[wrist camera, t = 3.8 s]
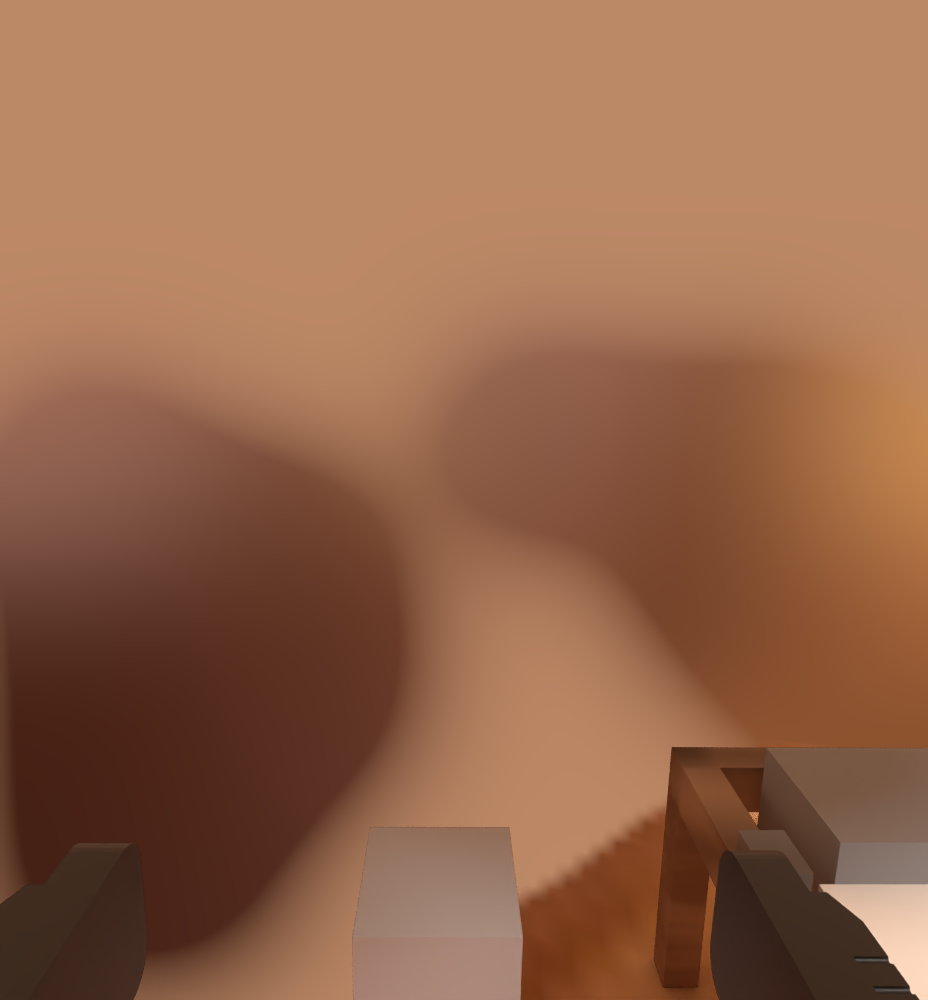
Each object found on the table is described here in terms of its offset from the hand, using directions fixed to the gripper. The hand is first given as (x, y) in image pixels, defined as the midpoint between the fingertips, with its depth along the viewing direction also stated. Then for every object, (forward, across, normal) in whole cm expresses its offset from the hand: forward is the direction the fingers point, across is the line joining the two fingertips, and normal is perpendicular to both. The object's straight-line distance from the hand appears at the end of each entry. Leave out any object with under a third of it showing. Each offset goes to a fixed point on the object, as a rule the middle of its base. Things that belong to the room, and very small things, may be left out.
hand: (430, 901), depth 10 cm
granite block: (+12, 0, +20) cm, 23 cm away
